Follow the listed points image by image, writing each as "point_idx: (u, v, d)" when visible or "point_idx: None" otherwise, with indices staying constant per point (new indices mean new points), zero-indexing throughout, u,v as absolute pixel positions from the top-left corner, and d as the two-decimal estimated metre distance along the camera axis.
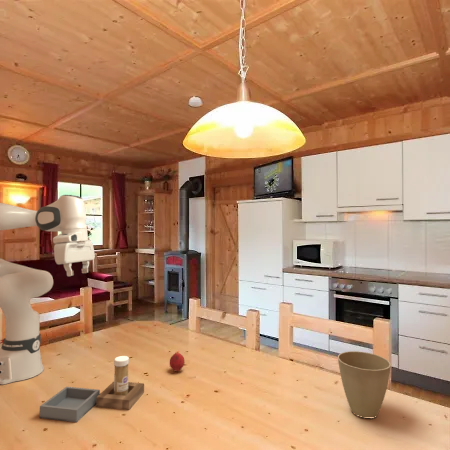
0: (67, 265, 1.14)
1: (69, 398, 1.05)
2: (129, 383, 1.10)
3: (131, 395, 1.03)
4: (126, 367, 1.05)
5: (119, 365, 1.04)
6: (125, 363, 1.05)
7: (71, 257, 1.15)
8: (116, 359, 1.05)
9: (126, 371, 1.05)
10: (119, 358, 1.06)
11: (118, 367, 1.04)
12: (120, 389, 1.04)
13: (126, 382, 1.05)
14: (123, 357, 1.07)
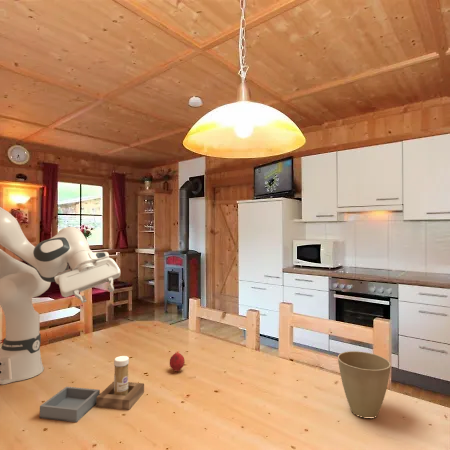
0: None
1: (69, 398, 1.05)
2: (129, 383, 1.10)
3: (131, 395, 1.03)
4: (126, 367, 1.05)
5: (119, 365, 1.04)
6: (125, 363, 1.05)
7: None
8: (116, 359, 1.05)
9: (126, 371, 1.05)
10: (119, 358, 1.06)
11: (118, 367, 1.04)
12: (120, 389, 1.04)
13: (126, 382, 1.05)
14: (123, 357, 1.07)
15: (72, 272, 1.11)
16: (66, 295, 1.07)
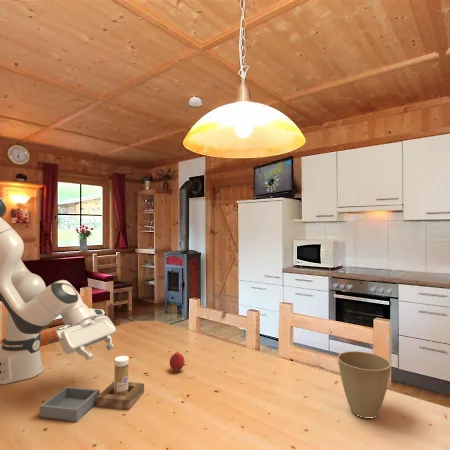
0: None
1: (69, 398, 1.05)
2: (129, 383, 1.10)
3: (131, 395, 1.03)
4: (126, 367, 1.05)
5: (119, 365, 1.04)
6: (125, 363, 1.05)
7: None
8: (116, 359, 1.05)
9: (126, 371, 1.05)
10: (119, 358, 1.06)
11: (118, 367, 1.04)
12: (120, 389, 1.04)
13: (126, 382, 1.05)
14: (123, 357, 1.07)
15: (75, 327, 1.07)
16: (71, 351, 1.01)
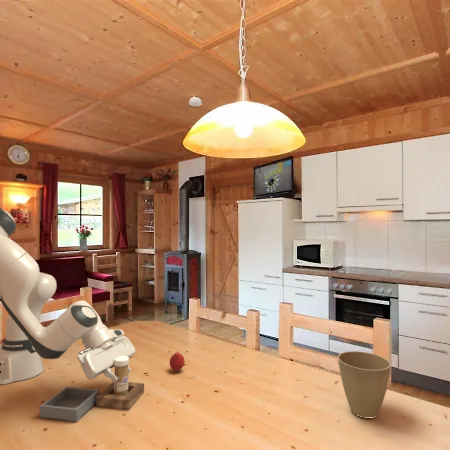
0: None
1: (69, 398, 1.05)
2: (129, 383, 1.10)
3: (131, 395, 1.03)
4: (126, 367, 1.05)
5: (119, 365, 1.04)
6: (125, 363, 1.05)
7: None
8: (116, 359, 1.05)
9: (126, 371, 1.05)
10: (119, 358, 1.06)
11: (118, 367, 1.04)
12: (120, 389, 1.04)
13: (126, 382, 1.05)
14: (123, 357, 1.07)
15: (96, 350, 1.04)
16: (94, 376, 0.99)
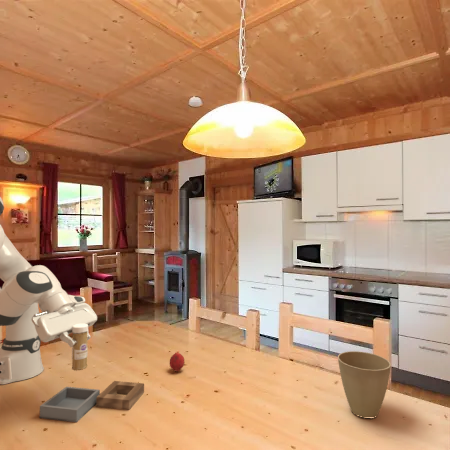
0: None
1: (69, 398, 1.05)
2: (129, 383, 1.10)
3: (131, 395, 1.03)
4: (85, 334, 1.01)
5: (77, 332, 0.99)
6: (83, 330, 1.00)
7: None
8: (74, 326, 1.01)
9: (85, 338, 1.01)
10: (78, 325, 1.01)
11: (75, 334, 1.00)
12: (78, 356, 0.99)
13: (84, 350, 1.01)
14: (82, 324, 1.02)
15: (53, 314, 1.00)
16: (48, 339, 0.94)
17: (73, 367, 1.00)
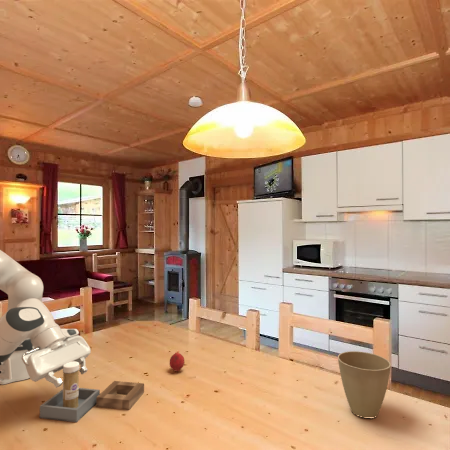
0: None
1: None
2: (129, 383, 1.10)
3: (131, 395, 1.03)
4: (75, 373, 0.99)
5: (67, 372, 0.98)
6: (74, 369, 0.99)
7: None
8: (65, 365, 0.99)
9: (75, 378, 0.99)
10: (69, 364, 1.00)
11: (66, 374, 0.98)
12: (68, 397, 0.98)
13: (75, 389, 0.99)
14: (73, 363, 1.01)
15: (44, 351, 0.98)
16: (39, 378, 0.93)
17: None
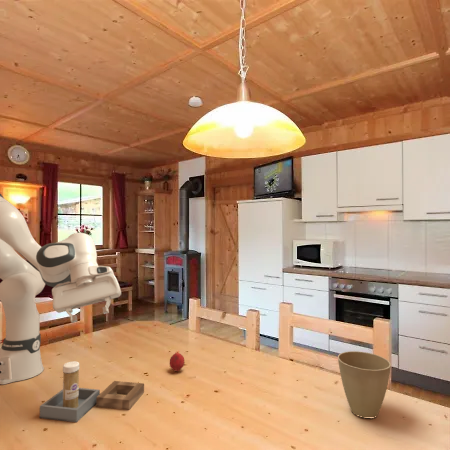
0: (110, 300, 1.04)
1: None
2: (129, 383, 1.10)
3: (131, 395, 1.03)
4: (75, 373, 0.99)
5: (67, 372, 0.98)
6: (74, 369, 0.99)
7: None
8: (65, 365, 0.99)
9: (75, 378, 0.99)
10: (69, 364, 1.00)
11: (66, 374, 0.98)
12: (68, 397, 0.98)
13: (75, 389, 0.99)
14: (73, 363, 1.01)
15: (69, 286, 1.03)
16: (58, 311, 1.00)
17: None
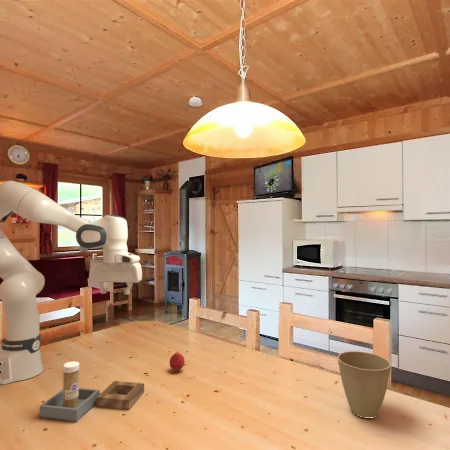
0: (131, 283, 1.22)
1: None
2: (129, 383, 1.10)
3: (131, 395, 1.03)
4: (75, 373, 0.99)
5: (67, 372, 0.98)
6: (74, 369, 0.99)
7: None
8: (65, 365, 0.99)
9: (75, 378, 0.99)
10: (69, 364, 1.00)
11: (66, 374, 0.98)
12: (68, 397, 0.98)
13: (75, 389, 0.99)
14: (73, 363, 1.01)
15: (101, 264, 1.22)
16: None
17: None
